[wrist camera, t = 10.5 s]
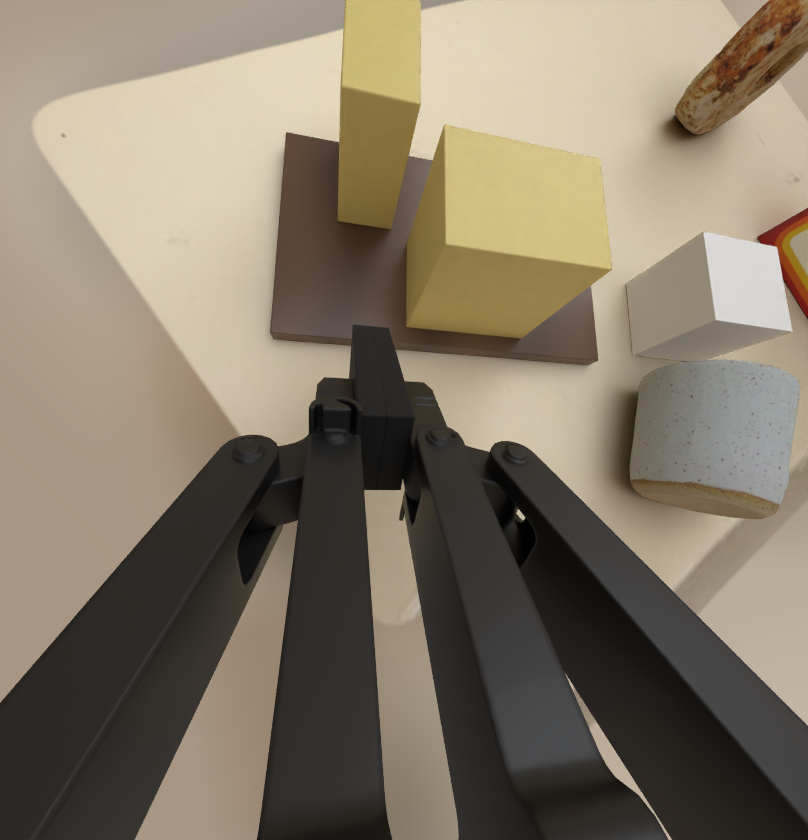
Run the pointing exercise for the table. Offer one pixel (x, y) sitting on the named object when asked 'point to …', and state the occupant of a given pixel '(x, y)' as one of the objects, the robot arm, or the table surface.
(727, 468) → the ceramic mug
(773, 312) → the white cube
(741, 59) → the stone disc
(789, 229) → the baking soda box
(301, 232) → the butter board
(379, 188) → the block
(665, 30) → the table surface
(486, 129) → the table surface
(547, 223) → the butter block
